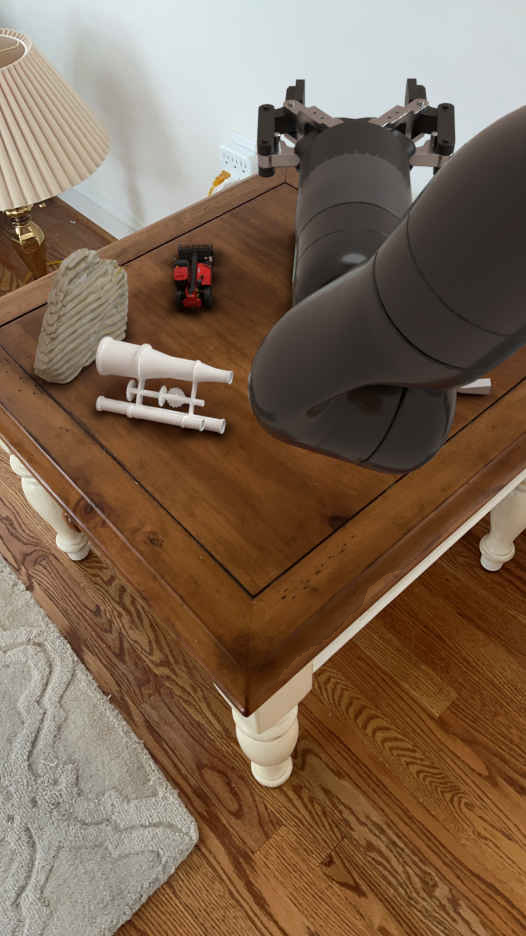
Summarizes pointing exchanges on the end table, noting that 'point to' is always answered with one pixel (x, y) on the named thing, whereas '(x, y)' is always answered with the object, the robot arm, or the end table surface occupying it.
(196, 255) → the loader
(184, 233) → the end table surface
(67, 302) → the fossil tooth
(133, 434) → the end table surface
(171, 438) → the end table surface
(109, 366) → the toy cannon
